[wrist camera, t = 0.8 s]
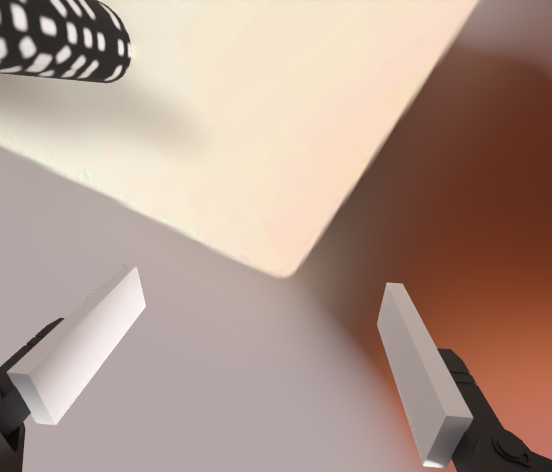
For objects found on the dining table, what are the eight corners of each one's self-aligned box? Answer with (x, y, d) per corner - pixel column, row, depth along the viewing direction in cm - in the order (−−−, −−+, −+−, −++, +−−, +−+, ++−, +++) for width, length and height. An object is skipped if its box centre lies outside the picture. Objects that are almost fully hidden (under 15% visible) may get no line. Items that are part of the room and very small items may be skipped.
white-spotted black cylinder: (67, 75, 35) (-178, 47, 17) (57, -9, 32) (-264, -153, 14) (132, 89, 35) (-44, 77, 17) (130, 7, 32) (-95, -114, 14)
